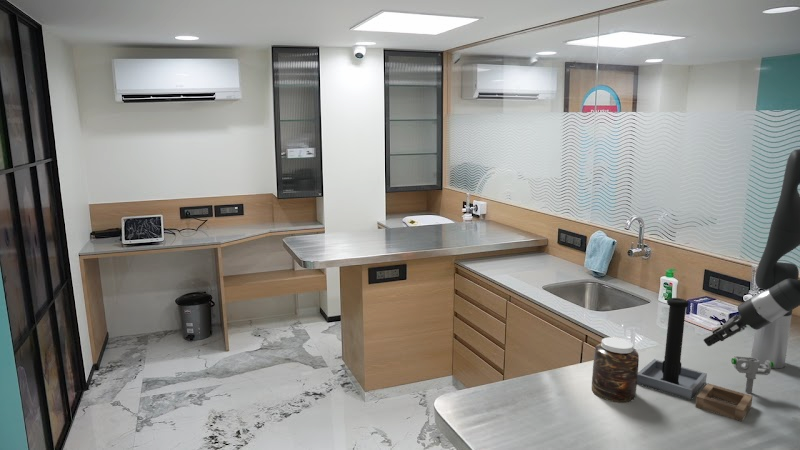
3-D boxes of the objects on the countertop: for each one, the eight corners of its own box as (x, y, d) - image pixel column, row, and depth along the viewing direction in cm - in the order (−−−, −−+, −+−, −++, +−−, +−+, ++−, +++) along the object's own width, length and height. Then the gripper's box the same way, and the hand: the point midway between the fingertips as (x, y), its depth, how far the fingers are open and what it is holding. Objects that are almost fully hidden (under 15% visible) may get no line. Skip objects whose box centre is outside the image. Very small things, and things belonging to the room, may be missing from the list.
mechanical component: (770, 396, 158) (775, 363, 156) (730, 392, 160) (734, 359, 158) (766, 391, 161) (770, 359, 159) (727, 388, 163) (731, 355, 161)
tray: (653, 368, 176) (654, 359, 175) (705, 383, 166) (706, 373, 165) (635, 383, 165) (636, 374, 164) (690, 400, 155) (691, 390, 154)
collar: (706, 393, 159) (707, 383, 159) (751, 406, 152) (752, 395, 151) (695, 406, 151) (696, 396, 151) (742, 421, 144) (743, 410, 143)
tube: (690, 303, 157) (687, 298, 162) (668, 301, 158) (666, 296, 164) (681, 387, 160) (679, 380, 165) (660, 384, 162) (658, 377, 167)
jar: (636, 388, 162) (640, 339, 159) (634, 406, 151) (639, 354, 149) (593, 380, 166) (597, 332, 164) (589, 397, 156) (592, 346, 153)
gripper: (758, 291, 153) (708, 321, 163) (746, 302, 143) (693, 334, 153) (779, 314, 151) (726, 343, 160) (768, 327, 140) (712, 357, 150)
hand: (710, 339), depth 156 cm, fingers open, 8 cm apart
